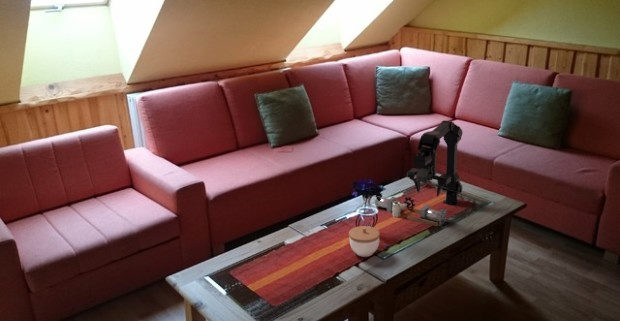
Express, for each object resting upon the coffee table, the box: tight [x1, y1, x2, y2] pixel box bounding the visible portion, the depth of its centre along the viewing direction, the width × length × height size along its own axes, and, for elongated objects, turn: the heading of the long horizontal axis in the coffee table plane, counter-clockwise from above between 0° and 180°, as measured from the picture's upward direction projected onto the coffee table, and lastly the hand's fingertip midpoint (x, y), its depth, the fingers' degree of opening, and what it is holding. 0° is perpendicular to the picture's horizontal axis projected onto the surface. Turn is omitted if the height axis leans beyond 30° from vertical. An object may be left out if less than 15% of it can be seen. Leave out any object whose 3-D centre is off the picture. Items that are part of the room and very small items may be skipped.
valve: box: [391, 196, 416, 218], centre depth 249 cm, size 7×7×12 cm
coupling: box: [419, 204, 447, 226], centre depth 240 cm, size 10×6×6 cm, turn 53°
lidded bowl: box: [348, 225, 381, 258], centre depth 214 cm, size 13×13×11 cm
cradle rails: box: [406, 208, 439, 227], centre depth 243 cm, size 9×15×2 cm, turn 53°
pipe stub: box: [374, 196, 398, 214], centre depth 255 cm, size 9×6×6 cm, turn 53°
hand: (428, 194), depth 234 cm, fingers open, 9 cm apart
